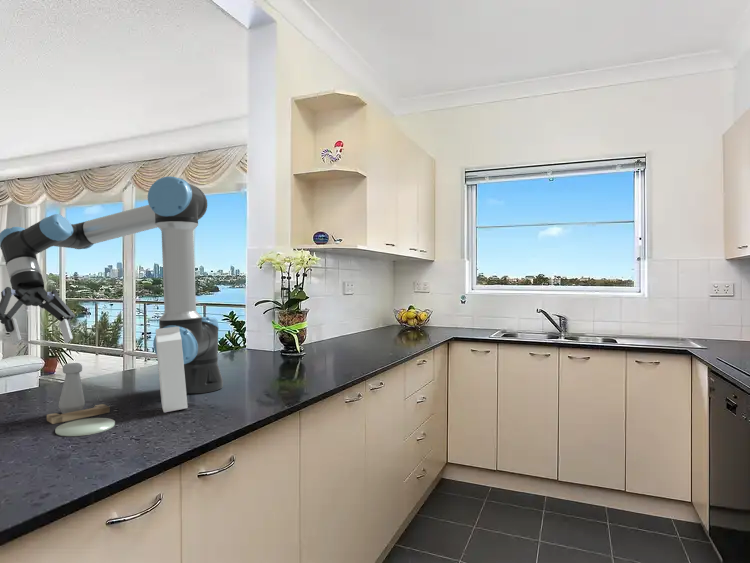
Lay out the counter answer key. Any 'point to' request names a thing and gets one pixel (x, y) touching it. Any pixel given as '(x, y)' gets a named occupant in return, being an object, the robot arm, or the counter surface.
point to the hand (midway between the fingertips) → (44, 341)
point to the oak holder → (78, 414)
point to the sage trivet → (85, 427)
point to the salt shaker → (72, 389)
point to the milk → (171, 369)
